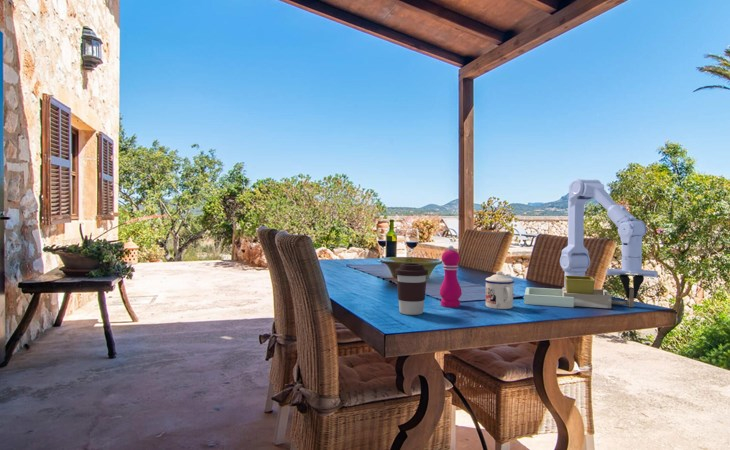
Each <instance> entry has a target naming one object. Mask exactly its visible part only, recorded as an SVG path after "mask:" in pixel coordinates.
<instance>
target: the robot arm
mask: <svg viewBox="0 0 730 450" xmlns="http://www.w3.org/2000/svg"><path fill="white" fill-rule="evenodd" d="M593 199H595V200H596V201H597V203H598V204H600V205H601V206H602V207H603V208H604V210H606V211H607V213H606V216H607V217H608V218H609V220H611V221H612V222H613V224H614V225H615V226H616V227H617V233H618V235H619V237H620V242H621V268H606V270H605V271H606V272H605V273H606V276H618V277H619V280H620V282H621V284H622V286H623V289H624V293H625V299H627V298H629V287H630V280H631V279H630V277H632V284H633V285H632V286H633V287H632V288H633V289H634V300H636V299H637V297H638V293H639V289H641V288H640V287H641V286H642V283H643V282H644V281H645V278H647V277H648V278H658V277H659V276H658V274H659V273H658V271H657V270H648V269H642V262H643V261H642V259H643V257H642V256H643V237H644V236H645V235H646V234H647V230H648V229H647V226H646V224H645V222H644V221H643V220H640V219H637V218H636V217H635V216H634V215H632V214H631V213H630V212H629V211H628V210H627V207H626V206H625V205H622V204H617V203H616V202H615V201H614V199H612V197H611V196H610V195H609V193H608V192H607V191H606V189H605V185H604V184H603V183H602V182H601V181H600V180H599V179H581V178H575V179H573V180H572V182H570V183H569V185H568V201H567V246H565V247H563V249H562V250H561V255H560V258H559V265H560V267H561V269H562V271H563V272H564V281H563V282H564V286H563V287H565V276H586V272H587V271H588V270H587V269H589V268H590V266H591V258H590V256H589V250H588V249H587V248H586V246H584V229H585V228H584V227H585V225H584V224H585V223H584V222H585V221H584V218H585V217H584V216H585V214H584V213H585V212H584V211H585V204H587V202H588V201H591V200H593Z"/></svg>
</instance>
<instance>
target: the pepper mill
mask: <svg viewBox="0 0 730 450" xmlns="http://www.w3.org/2000/svg"><path fill="white" fill-rule="evenodd" d="M447 249H448V250H445V251H444V252H443V253H442V255H441V262H442V263H443V265H442V269H443V271H444V278H443V281H442V283H441V286H440V288H439V295H440V297H441V298H442V299H441V300H440V306H442V307H445V308H459V307H461V300H460V299H459V298H461V296H462V287H461V285H460V283H459V281H458V273H457V272H458V270H459V265H458V264H459V262H460V260H461V256H460V254H459V252H458V251H456V250H454V246H453V245H449V246H448V247H447Z"/></svg>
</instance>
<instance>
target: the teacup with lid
mask: <svg viewBox="0 0 730 450" xmlns="http://www.w3.org/2000/svg"><path fill="white" fill-rule="evenodd" d="M503 273H504V272H503V271H501V270H498V271H496V274H492V275H491V276H489V277H486V278H485V280H484V282H485V306H486V307H487V308H489V309H495V310H508V309H509V310H510V309H512V308H513V307H514V283H515V281H514V279H513V278H510V277H508V276H507V275H505V274H503Z"/></svg>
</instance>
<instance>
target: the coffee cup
mask: <svg viewBox="0 0 730 450" xmlns="http://www.w3.org/2000/svg"><path fill="white" fill-rule="evenodd" d="M394 271H395V273H394V274H395V275H396V276H397V281H396V286H397V287H396V288H397V289H396V290H397V300H398V308H399V309H398V310H399V313H400V314H401V315H402V314H403V315H405V316H406V315H408V316H417V315H422V314H423V313H424V308H425V307H424V306H425V300H426V290H427V289H426V288H427V279H426V277H427V276H428V275H429V269H427V268H425V267H424V264H422V263H418V262H416V263H413V262H407V263H405V262H404V263H401V264H400V265H399V268H396V269H395V270H394Z"/></svg>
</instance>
